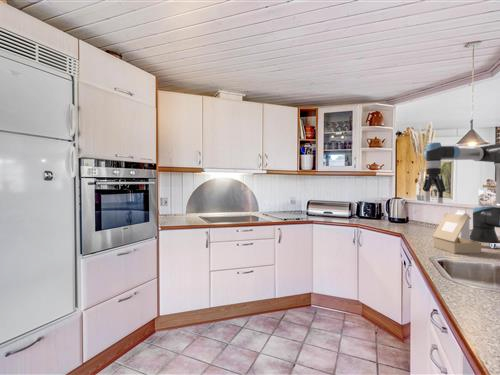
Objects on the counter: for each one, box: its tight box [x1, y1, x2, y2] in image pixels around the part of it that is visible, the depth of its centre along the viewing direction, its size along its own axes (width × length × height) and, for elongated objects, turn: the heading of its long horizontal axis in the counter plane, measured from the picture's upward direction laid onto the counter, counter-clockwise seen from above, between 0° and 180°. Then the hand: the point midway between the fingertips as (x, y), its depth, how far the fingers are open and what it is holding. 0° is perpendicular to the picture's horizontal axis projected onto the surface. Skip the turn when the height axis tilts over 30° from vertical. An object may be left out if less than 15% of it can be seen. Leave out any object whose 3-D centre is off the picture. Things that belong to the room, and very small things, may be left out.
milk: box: [454, 209, 471, 240], centre depth 183 cm, size 6×6×22 cm
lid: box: [432, 212, 472, 243], centre depth 168 cm, size 17×17×3 cm
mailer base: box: [433, 237, 482, 255], centre depth 168 cm, size 16×16×6 cm
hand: (433, 202), depth 177 cm, fingers open, 13 cm apart
